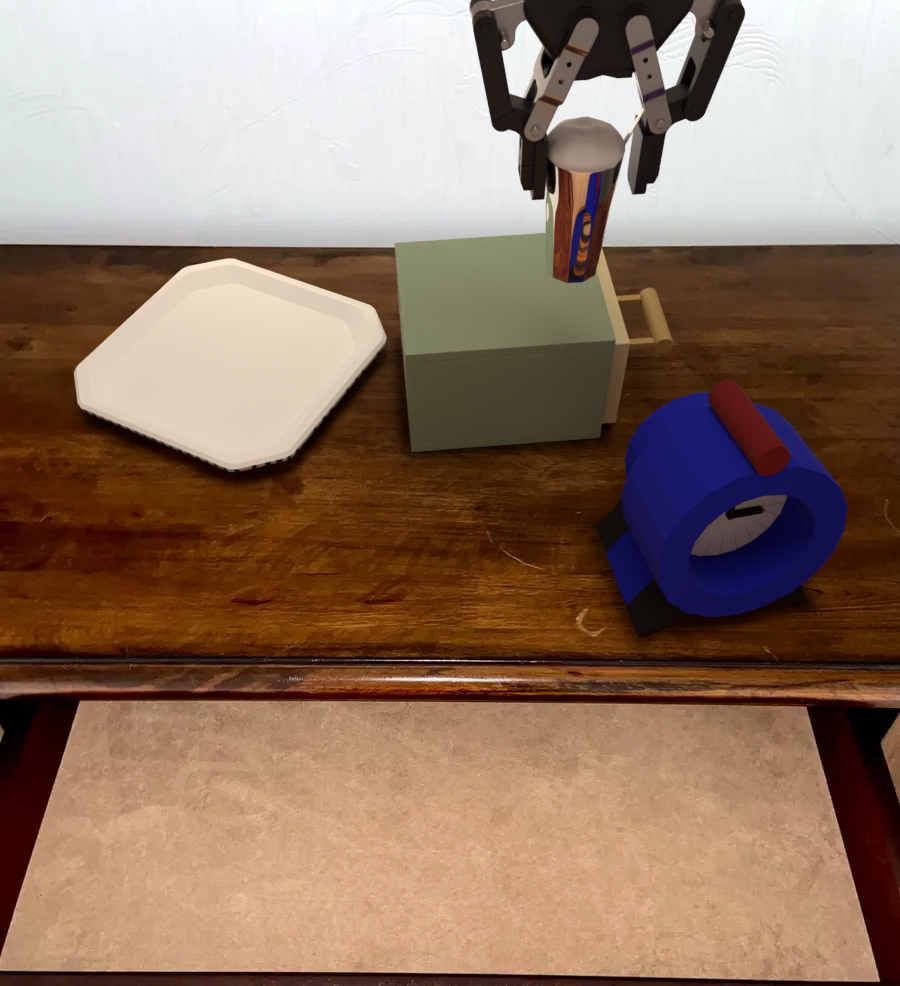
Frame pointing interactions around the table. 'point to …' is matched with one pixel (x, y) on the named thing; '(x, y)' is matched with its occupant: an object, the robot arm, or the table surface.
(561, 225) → the milkshake
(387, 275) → the table surface
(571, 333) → the cabinet
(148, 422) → the plate
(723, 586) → the alarm clock
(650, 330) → the drawer
